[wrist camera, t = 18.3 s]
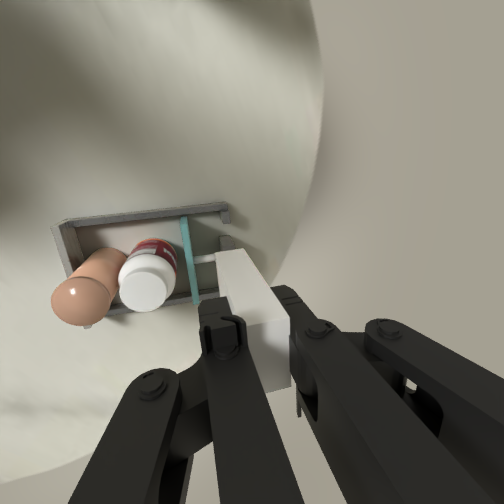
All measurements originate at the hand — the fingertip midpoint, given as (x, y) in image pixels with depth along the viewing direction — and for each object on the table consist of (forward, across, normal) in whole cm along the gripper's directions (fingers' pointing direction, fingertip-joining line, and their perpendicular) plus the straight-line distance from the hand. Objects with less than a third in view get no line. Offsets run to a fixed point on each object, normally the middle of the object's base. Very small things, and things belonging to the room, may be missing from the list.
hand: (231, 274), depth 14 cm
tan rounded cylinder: (+26, -13, -8) cm, 30 cm away
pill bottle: (+26, -7, -7) cm, 28 cm away
